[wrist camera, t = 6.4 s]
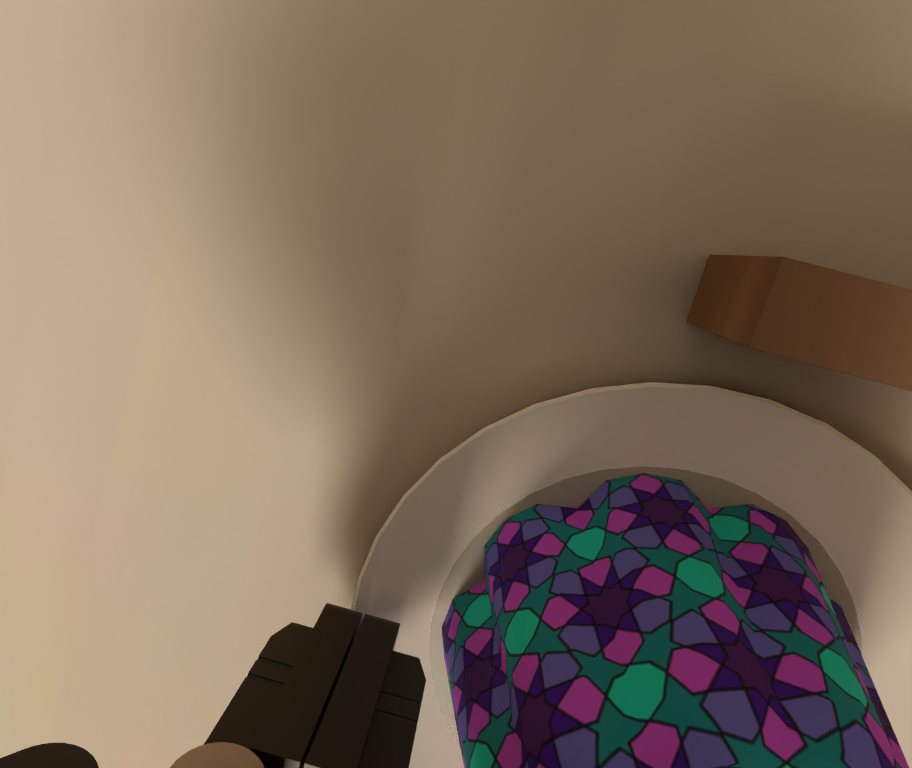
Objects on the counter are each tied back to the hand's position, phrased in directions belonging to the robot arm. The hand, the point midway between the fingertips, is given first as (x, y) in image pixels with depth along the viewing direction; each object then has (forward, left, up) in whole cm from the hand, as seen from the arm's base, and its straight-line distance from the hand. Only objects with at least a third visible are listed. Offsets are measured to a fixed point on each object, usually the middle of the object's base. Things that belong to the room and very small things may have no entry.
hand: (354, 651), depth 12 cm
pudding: (-6, -1, -2) cm, 6 cm away
